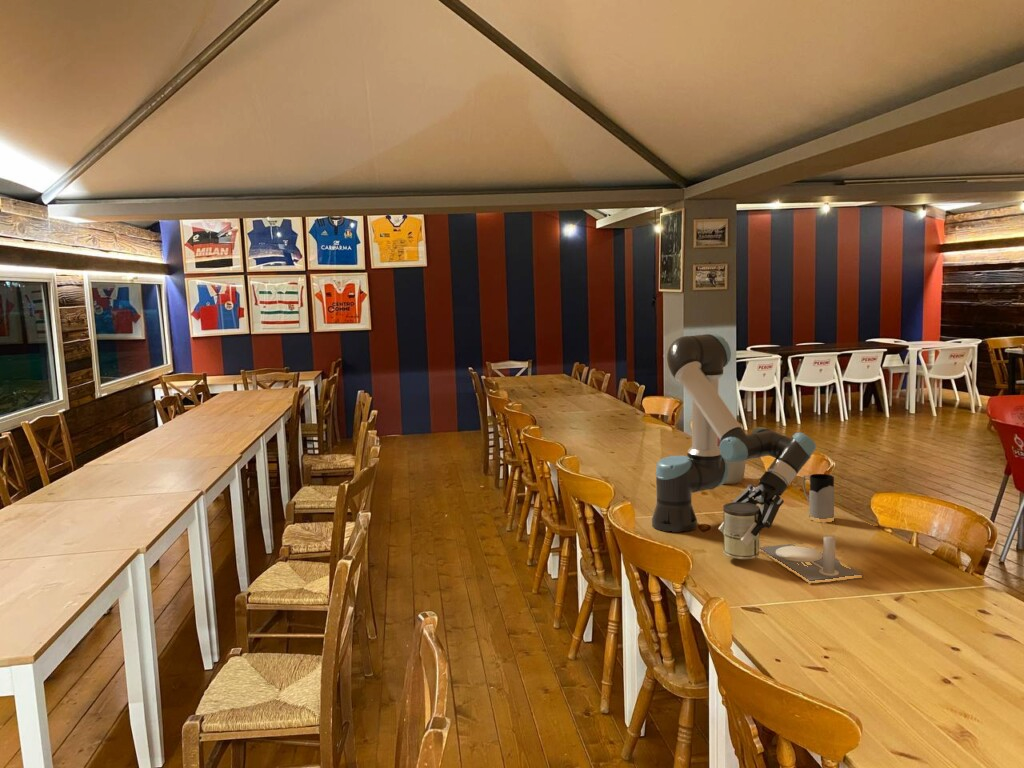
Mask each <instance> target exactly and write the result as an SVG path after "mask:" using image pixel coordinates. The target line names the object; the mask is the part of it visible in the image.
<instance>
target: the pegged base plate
mask: <svg viewBox="0 0 1024 768" xmlns="http://www.w3.org/2000/svg"><path fill="white" fill-rule="evenodd" d="M822 539H823V540H822V541H823V542H822V543H823V546H822V547H823V550H822V551H823V553H821V552H819V551H817V550H815V549H812V548H808V547H801V546H795V545H793V544H794V543H788V544H781V545H777V544H776V545H769V546H768V545H767V546H759V549H761V550H763V551H764V552H766V553H767V554H769V555H770V556H772V557H773V558H775V559H777V560H778V561H780V562H782V563H783V564H785V565H786V566H788V567H789V568H791V569H792V570H794V571H796V572H797V573H799V574H800V575H802V576H803V577H805V578H806V579H808V580H809V581H815V580H825V579H833V578H839V577H845V576H854V575H862V574H863V573H862V572H861V571H858V570H857V569H855V568H853V567H851V566H850V568H851V569H849V568H846V567H844V566H842V565H841V564H840V562H839V561H840V559H837V558H836V537H835V536H832V535H823V538H822ZM791 545H793V546H791ZM801 562H803V563H804V564H805V565H807V564H806V563H805V562H810V563H811V564H812V565H807V566H808V567H807V566H804V565H803V564H802V563H801ZM797 563H798V564H799V565H798V564H797Z"/></svg>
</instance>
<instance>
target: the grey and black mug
mask: <svg viewBox="0 0 1024 768" xmlns="http://www.w3.org/2000/svg"><path fill="white" fill-rule="evenodd" d="M806 477H807V478H808V479H809V495H808V493H807V489H806V481H805V480H806ZM802 488H803V493H804V495H805V496H804V497H806V499H807V501H808V503H809V504H808V505H809V508H808V509H809V511H808V516H809V515H810V516H811V517H814V518H819V519H827V518H833V517H834V518H835V477H834V476H833V475H831V474H826V473H814V474H811V475H809V474H805V475H803V477H802Z"/></svg>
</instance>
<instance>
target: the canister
mask: <svg viewBox="0 0 1024 768" xmlns="http://www.w3.org/2000/svg"><path fill="white" fill-rule="evenodd" d="M720 443H721V440H720V439H719V437H718V436H717V447H718V449H719V447H720ZM746 461H747V460H744V461H741V462H728V461H726V463H728V467H729V473H728V477H727V480H726V481H725V483H724V484H725V485H733V484H738V483H741V482H742V481H743V479H744V477H745V471H746V465H747V464H746V463H747V462H746Z"/></svg>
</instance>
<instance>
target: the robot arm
mask: <svg viewBox="0 0 1024 768" xmlns="http://www.w3.org/2000/svg"><path fill="white" fill-rule="evenodd" d="M731 351H732V350H731V347H730V344H729V343H728V341H726V339H725V338H724V337H723V336H721V335H720V334H714V333H711V334H709V333H706V334H698V335H697V334H696V335H685V336H684V335H682V336H680V337H679V338H676V339H675V340H673V342H671V344H670V346H669V348H668V349H667V354H666V362H667V366H668V369H669V372H670V374H671V375H672V376H673V378H674V379H675V381H676V382H678V383H681V384H682V386H683V387H684V389H685V390H686V391H687V393H688V395H689V396H690V398H691V399H692V401H691V403H692V404H691V405H692V407H691V408H692V410H691V411H692V413H691V416H692V417H691V422H692V423H691V424H692V425H691V447H689V449H687V453H686V454H687V455H680V454H679V455H670V456H666V457H663V458H660V459H659V460H658V462H657V464H656V470H655V471H656V472H655V478H656V481H655V482H656V505H655V508H654V510H653V514H652V517H651V526H652V527H653V528H654V529H655V530H659V531H661V530H662V531H661V532H666V531H672V532H671V533H683V532H682V531H686V532H690V531H689V530H691V531H693V530H692V529H694V528H695V529H697V528H698V519H697V515H696V512H695V510H694V507H693V504H692V493H698V492H702V491H709V490H714V489H716V488H719V487H721V486H723V484H724V483H725V481H726V480H727V477H728V473H729V467H728V463H726V461H728V462H741V461H744V460H746V461H747V460H751V459H752V460H753V459H757V458H764V457H767V456H768V457H772V458H774V460H773V461H772V463H771V464H770V465H769V466H768V467H767V469H766V471H765V472H764V473H763V474H762V476H761V477H760V478H759V480H758V481H759V482H758V483H759V484H758V485H757V486H756V487H754V486H753V485H752V484H748V485H747V486H746V489H745V490H744V491H742V492H741V493H740V494H739V495H738V496H737V497H736V498H735V499H734V500H733V501H732V502H745V503H751V504H755V505H758V504H759V505H760V506H759V507H760V511H759V515H758V519H757V520H755V521H756V522H757V523H755V522H754V523H753V524H752V525H751V526H750V528H749V529H748V530H747V532H746V533H745V534H744V536H743V537H742V538H741V541H742V542H744V543H745V544H746V545H747V546H748V545H749V543H750V542H751V541H752V539H753V538H754V537H755V536H757V535H758V533H759V534H760V532H761V530H763V529H764V528H767V529H770V528H771V527H772V525H773V523H774V520H775V518H776V516H777V514H778V512H779V509H780V507H781V506H782V505H783V503H784V499H782V497H781V496H783V494H784V492H785V491H786V490H787V488H788V486H789V485H791V483H792V481H794V479H795V478H796V476H797V475H798V474H799V472H800V471H801V469H802V468H803V467H804V466H805V464H806V463H807V462H808V461H809V460H810V459H811V458H812V455H813V453H814V452H815V450H817V443H816V442H815V441H814V440H813V438H811V437H810V436H808V435H807V434H805V433H803V432H795V433H794V434H793V435H792V436H791V437H790V436H788V435H787V436H786V435H784V434H782V433H779V432H777V431H774V430H772V429H770V428H766V427H764V426H763V427H762V426H758V427H756V428H755V429H754V430H752V431H751V433H748V434H747V433H746V432H745V430H744V429H743V427H742V426H741V425H740V423H739V422H738V420H737V419H736V418H735V416H734V414H732V411H731V410H730V409H729V408H728V405H726V403H725V401H724V400H723V399H722V397H721V396H720V394H719V379H720V378H721V377H723V375H724V368H725V367H726V366H727V365H728V364H729V362H730V361H731V359H732V352H731ZM717 437H719V439H720V440H721V443H720V447H719V449H718V447H717ZM695 529H694V530H695ZM717 529H718V530H719V531H720V532H721V533H722V535H724V520H723V521H722V522H721V524H720V525H719V527H718V528H717Z"/></svg>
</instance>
